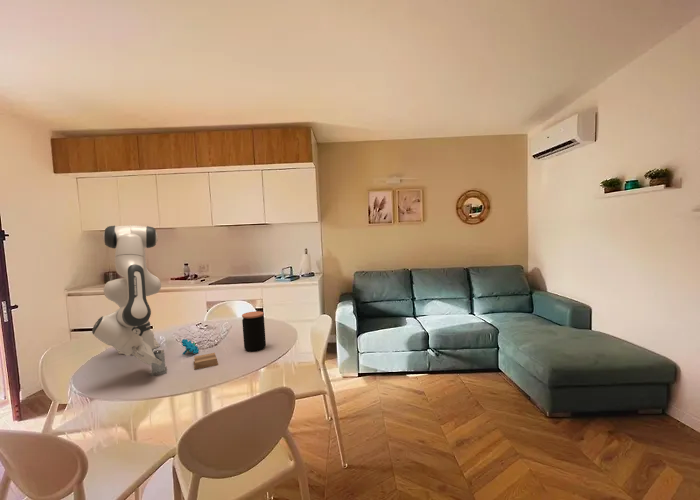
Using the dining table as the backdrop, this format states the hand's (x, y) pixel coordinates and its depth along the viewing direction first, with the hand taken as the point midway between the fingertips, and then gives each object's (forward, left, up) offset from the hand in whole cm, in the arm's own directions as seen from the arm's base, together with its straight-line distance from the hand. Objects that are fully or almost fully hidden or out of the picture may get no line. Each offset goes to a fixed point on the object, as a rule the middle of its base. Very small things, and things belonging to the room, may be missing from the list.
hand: (159, 361), depth 156 cm
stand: (+1, +18, -5) cm, 19 cm away
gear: (-19, +13, -5) cm, 24 cm away
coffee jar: (-7, +42, -5) cm, 43 cm away
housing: (0, -1, -5) cm, 5 cm away
